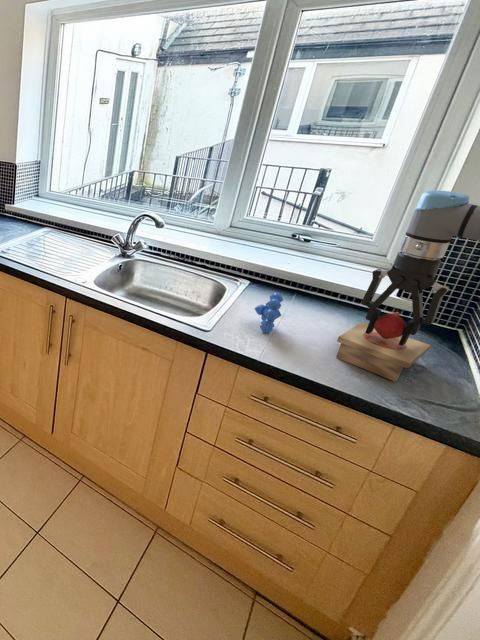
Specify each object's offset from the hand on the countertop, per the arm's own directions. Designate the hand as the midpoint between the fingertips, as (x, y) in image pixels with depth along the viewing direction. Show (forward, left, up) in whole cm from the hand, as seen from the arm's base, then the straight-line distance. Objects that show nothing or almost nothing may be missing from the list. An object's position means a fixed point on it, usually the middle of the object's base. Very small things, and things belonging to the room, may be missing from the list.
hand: (385, 337), depth 110 cm
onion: (0, 0, 0) cm, 0 cm away
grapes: (+24, +9, -7) cm, 27 cm away
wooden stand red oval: (0, 0, -7) cm, 7 cm away
